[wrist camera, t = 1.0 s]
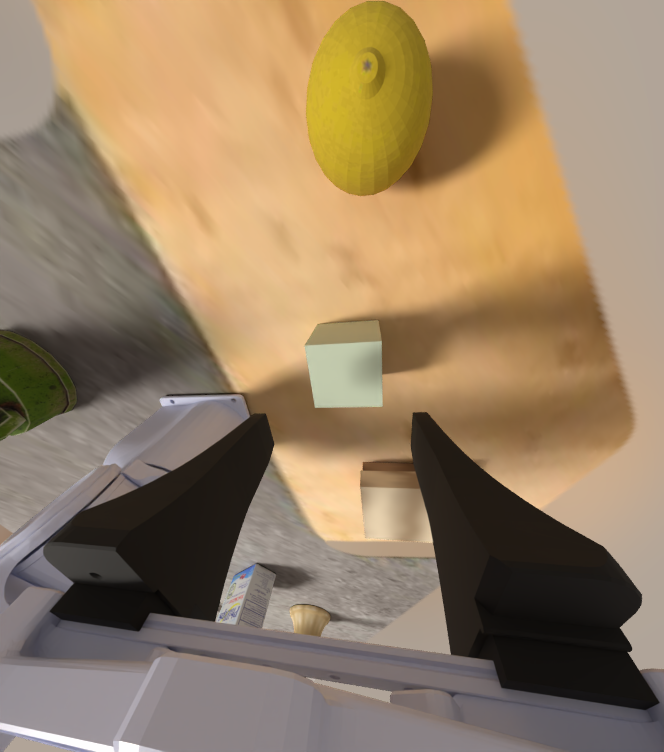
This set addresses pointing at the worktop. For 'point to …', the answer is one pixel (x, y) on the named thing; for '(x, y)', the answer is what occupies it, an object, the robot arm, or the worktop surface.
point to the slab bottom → (388, 466)
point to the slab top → (394, 507)
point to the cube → (346, 364)
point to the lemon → (369, 98)
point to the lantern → (30, 385)
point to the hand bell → (309, 619)
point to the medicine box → (248, 597)
